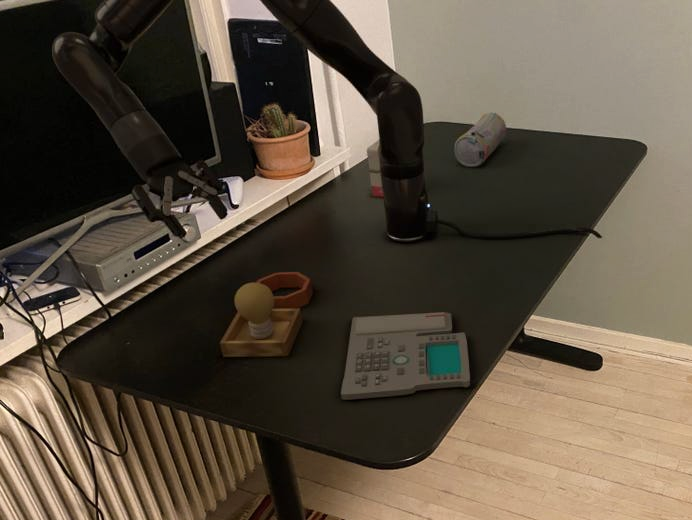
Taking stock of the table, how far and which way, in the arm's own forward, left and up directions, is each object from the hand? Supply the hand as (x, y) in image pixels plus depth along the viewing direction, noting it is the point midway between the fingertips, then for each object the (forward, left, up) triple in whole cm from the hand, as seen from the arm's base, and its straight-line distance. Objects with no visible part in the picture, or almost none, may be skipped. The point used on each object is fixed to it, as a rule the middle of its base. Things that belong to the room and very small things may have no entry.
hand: (204, 226), depth 125 cm
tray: (-9, +9, -17) cm, 22 cm away
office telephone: (-35, +14, -18) cm, 42 cm away
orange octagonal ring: (-9, -5, -17) cm, 20 cm away
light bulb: (-9, +9, -17) cm, 21 cm away
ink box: (-22, -59, -18) cm, 65 cm away
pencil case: (-45, -83, -18) cm, 96 cm away
